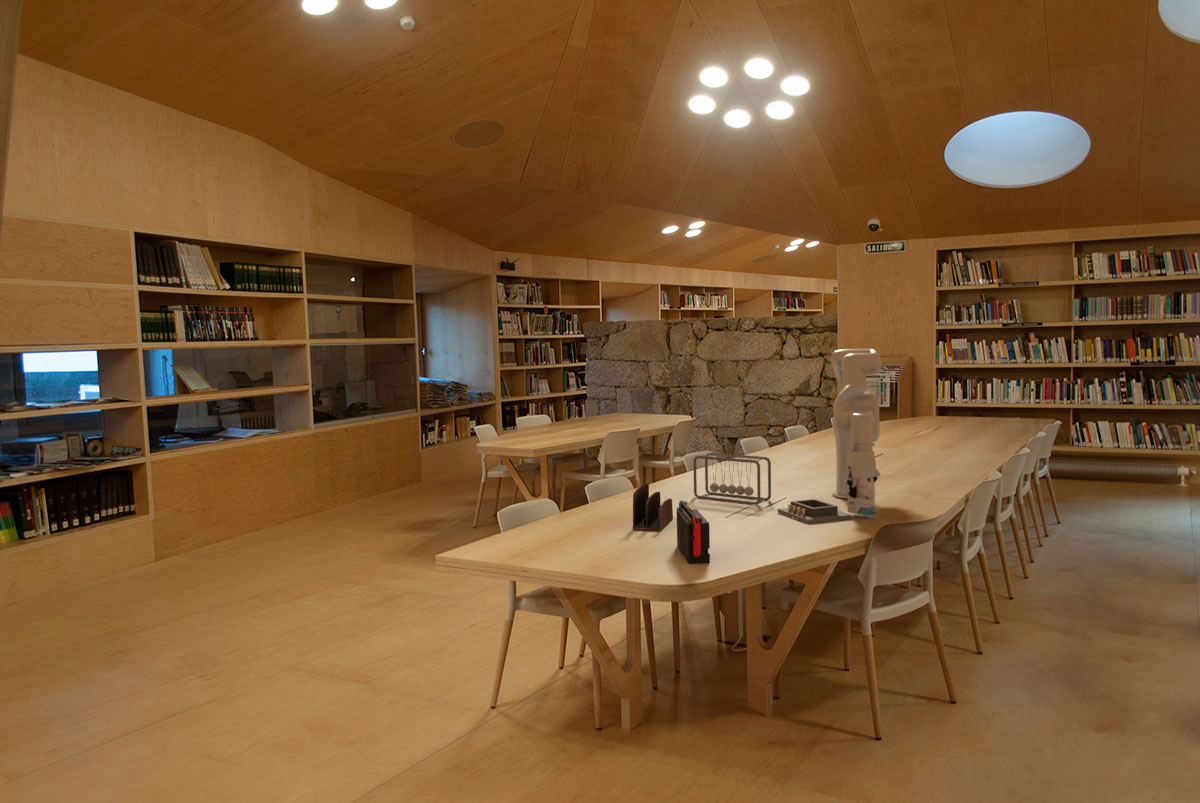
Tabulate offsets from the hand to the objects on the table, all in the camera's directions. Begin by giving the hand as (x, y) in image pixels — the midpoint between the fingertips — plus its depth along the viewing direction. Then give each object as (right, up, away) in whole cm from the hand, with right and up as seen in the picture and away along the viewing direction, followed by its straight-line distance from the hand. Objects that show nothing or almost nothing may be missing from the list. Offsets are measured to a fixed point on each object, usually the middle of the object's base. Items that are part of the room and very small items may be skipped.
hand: (861, 495), depth 293 cm
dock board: (-16, -8, +4) cm, 18 cm away
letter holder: (-75, -10, -3) cm, 76 cm away
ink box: (0, -6, +1) cm, 6 cm away
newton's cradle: (-40, -6, +38) cm, 56 cm away
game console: (-66, -13, -44) cm, 80 cm away
